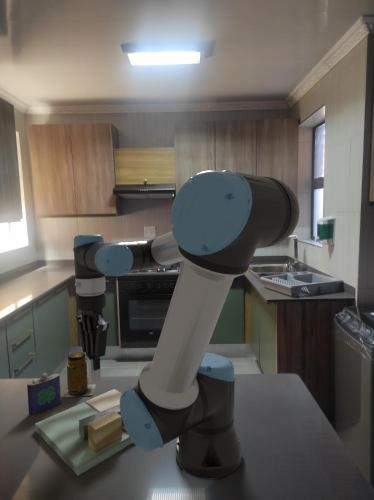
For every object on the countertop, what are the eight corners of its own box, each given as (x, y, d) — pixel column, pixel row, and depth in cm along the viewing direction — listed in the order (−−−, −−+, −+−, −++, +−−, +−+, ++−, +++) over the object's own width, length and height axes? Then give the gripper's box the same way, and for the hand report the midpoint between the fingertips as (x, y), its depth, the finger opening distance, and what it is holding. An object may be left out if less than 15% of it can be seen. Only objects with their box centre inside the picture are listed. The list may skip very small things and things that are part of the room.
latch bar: (132, 410, 90) (132, 396, 89) (140, 417, 86) (139, 402, 86) (78, 433, 80) (77, 417, 80) (84, 441, 77) (84, 425, 77)
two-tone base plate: (162, 424, 87) (161, 397, 86) (77, 476, 70) (76, 442, 69) (114, 394, 102) (113, 371, 102) (35, 430, 85) (34, 403, 84)
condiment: (69, 386, 108) (68, 350, 107) (96, 384, 109) (95, 349, 108) (63, 398, 101) (62, 360, 100) (92, 396, 102) (90, 358, 101)
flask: (58, 400, 99) (57, 366, 98) (63, 404, 97) (61, 369, 96) (27, 414, 92) (25, 377, 91) (31, 418, 90) (29, 381, 89)
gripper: (65, 292, 88) (69, 377, 90) (90, 299, 79) (95, 393, 81) (90, 288, 94) (94, 368, 95) (117, 294, 85) (120, 382, 86)
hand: (94, 380), depth 88 cm, fingers closed
